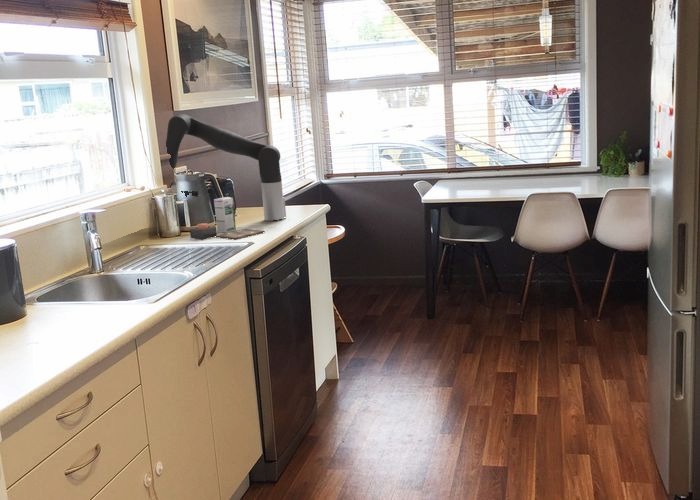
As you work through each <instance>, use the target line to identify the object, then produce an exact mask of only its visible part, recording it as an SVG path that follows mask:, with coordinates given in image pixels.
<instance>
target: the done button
mask: <svg viewBox="0 0 700 500" xmlns="http://www.w3.org/2000/svg"><path fill="white" fill-rule="evenodd" d="M208 226H209V224H208V223H207V222H205V223H204V222H203V223H198V224H197V225H196V227H197V228H198V229H206V228H208Z"/></svg>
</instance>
